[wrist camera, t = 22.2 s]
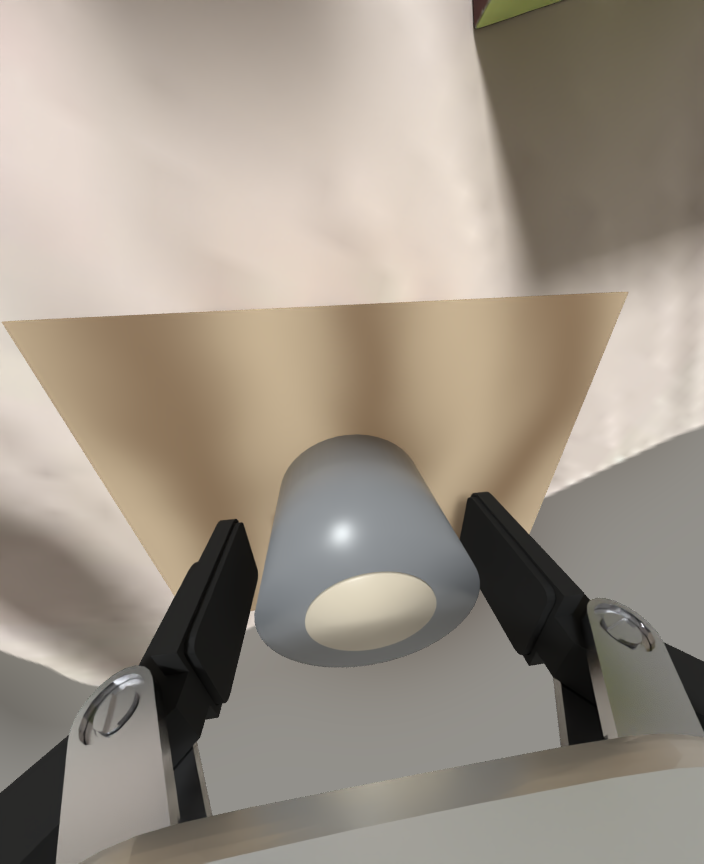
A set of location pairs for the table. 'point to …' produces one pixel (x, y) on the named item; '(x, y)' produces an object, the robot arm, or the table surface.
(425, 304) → the box lid
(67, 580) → the table surface
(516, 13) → the protein box
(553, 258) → the table surface
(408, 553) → the grey rounded piece
